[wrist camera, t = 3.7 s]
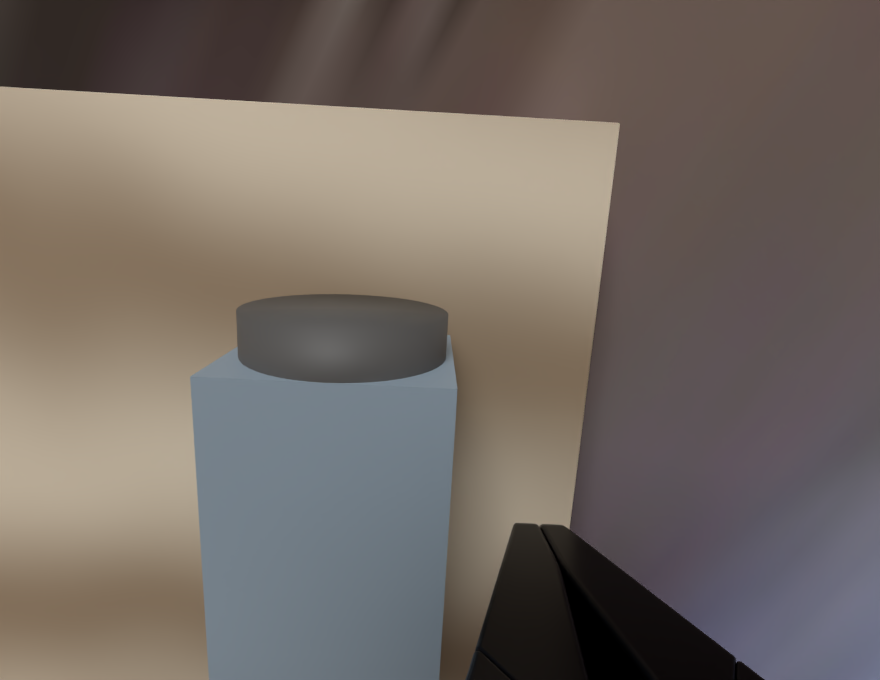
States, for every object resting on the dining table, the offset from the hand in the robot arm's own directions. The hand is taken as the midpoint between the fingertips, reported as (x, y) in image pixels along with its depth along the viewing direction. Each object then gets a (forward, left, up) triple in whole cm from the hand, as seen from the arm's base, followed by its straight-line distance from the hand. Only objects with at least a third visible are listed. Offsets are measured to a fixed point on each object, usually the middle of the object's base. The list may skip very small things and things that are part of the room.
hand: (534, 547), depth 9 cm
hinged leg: (-3, +3, -1) cm, 4 cm away
